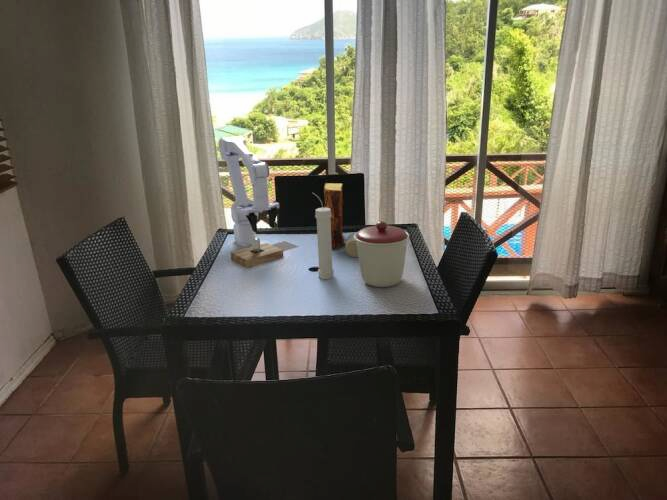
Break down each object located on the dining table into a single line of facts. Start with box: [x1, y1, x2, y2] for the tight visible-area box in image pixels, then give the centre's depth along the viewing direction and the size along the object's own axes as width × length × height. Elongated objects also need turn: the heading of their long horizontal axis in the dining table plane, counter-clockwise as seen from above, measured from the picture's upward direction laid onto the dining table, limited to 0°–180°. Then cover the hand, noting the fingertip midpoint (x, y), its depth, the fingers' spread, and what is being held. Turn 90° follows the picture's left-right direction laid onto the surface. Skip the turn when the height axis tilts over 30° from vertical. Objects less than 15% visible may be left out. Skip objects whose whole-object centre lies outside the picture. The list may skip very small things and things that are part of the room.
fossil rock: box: [323, 182, 346, 250], centre depth 223 cm, size 24×8×24 cm, turn 176°
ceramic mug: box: [344, 232, 359, 258], centre depth 211 cm, size 11×8×8 cm
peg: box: [251, 237, 261, 254], centre depth 212 cm, size 3×3×8 cm
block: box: [230, 242, 284, 269], centre depth 212 cm, size 12×16×3 cm
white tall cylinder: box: [312, 192, 335, 280], centre depth 188 cm, size 6×6×30 cm
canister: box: [354, 220, 410, 288], centre depth 183 cm, size 18×18×21 cm
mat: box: [271, 240, 300, 252], centre depth 224 cm, size 10×10×1 cm
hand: (263, 229), depth 213 cm, fingers open, 7 cm apart
